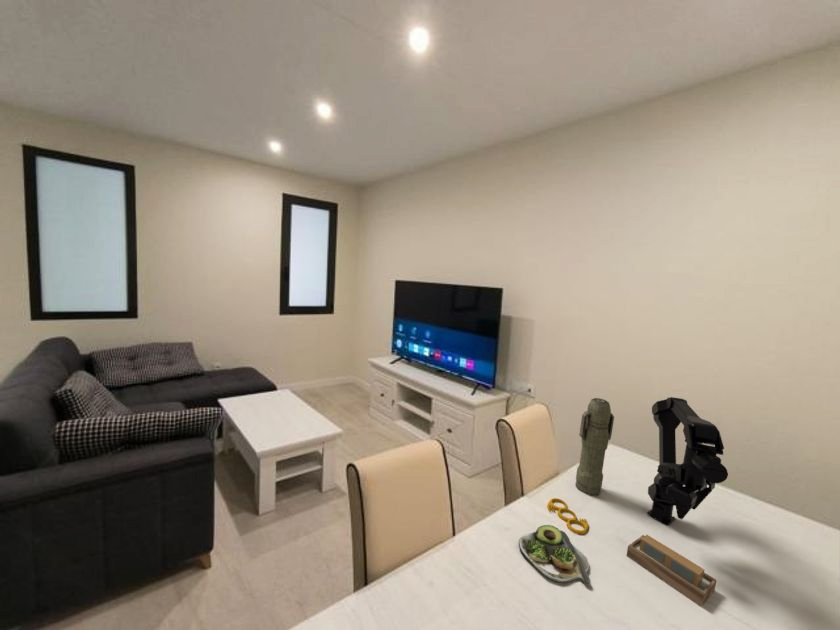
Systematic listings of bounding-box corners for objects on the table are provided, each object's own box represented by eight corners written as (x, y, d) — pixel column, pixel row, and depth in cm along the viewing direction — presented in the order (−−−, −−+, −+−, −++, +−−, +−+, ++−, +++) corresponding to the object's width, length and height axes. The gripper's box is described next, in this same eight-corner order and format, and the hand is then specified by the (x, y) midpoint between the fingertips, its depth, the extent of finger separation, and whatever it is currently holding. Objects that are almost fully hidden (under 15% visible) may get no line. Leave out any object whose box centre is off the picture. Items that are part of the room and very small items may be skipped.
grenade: (566, 482, 138) (578, 396, 134) (592, 480, 141) (605, 396, 137) (581, 496, 130) (595, 405, 125) (609, 494, 132) (622, 404, 128)
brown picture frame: (641, 544, 108) (643, 534, 107) (714, 590, 93) (716, 580, 93) (626, 555, 103) (628, 545, 102) (701, 606, 88) (703, 595, 88)
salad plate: (610, 579, 94) (612, 563, 94) (560, 601, 87) (563, 584, 86) (555, 529, 112) (557, 516, 111) (510, 544, 104) (511, 529, 104)
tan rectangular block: (645, 545, 104) (646, 534, 104) (702, 581, 93) (704, 569, 93) (639, 549, 102) (640, 538, 102) (696, 587, 91) (699, 575, 90)
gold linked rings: (567, 536, 109) (596, 535, 111) (567, 532, 109) (597, 530, 111) (540, 502, 125) (566, 501, 127) (541, 498, 125) (567, 497, 127)
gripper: (677, 445, 115) (669, 489, 117) (650, 458, 105) (642, 506, 107) (720, 461, 106) (710, 509, 108) (695, 477, 96) (685, 530, 98)
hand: (686, 513), depth 105 cm, fingers open, 9 cm apart
